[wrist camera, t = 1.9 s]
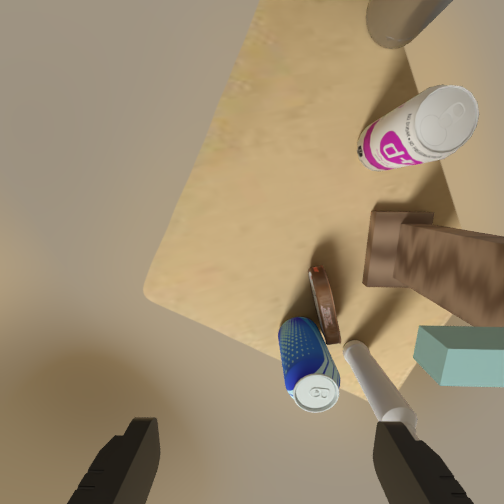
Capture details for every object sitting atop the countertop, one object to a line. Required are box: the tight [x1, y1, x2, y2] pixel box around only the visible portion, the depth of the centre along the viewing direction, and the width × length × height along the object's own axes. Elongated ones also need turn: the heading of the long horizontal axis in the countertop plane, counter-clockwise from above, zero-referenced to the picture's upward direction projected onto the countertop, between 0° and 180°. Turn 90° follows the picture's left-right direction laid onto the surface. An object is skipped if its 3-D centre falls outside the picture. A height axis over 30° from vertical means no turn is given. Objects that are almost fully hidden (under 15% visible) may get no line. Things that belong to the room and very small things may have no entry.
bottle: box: [343, 340, 419, 440], centre depth 38 cm, size 5×5×25 cm
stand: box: [362, 211, 504, 327], centre depth 31 cm, size 14×10×30 cm
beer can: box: [278, 317, 340, 413], centre depth 42 cm, size 8×8×16 cm
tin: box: [308, 265, 341, 345], centre depth 44 cm, size 15×3×8 cm, turn 15°
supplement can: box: [357, 85, 479, 171], centre depth 34 cm, size 8×8×15 cm
